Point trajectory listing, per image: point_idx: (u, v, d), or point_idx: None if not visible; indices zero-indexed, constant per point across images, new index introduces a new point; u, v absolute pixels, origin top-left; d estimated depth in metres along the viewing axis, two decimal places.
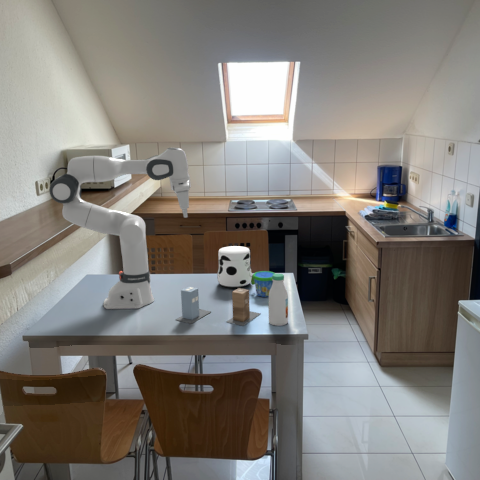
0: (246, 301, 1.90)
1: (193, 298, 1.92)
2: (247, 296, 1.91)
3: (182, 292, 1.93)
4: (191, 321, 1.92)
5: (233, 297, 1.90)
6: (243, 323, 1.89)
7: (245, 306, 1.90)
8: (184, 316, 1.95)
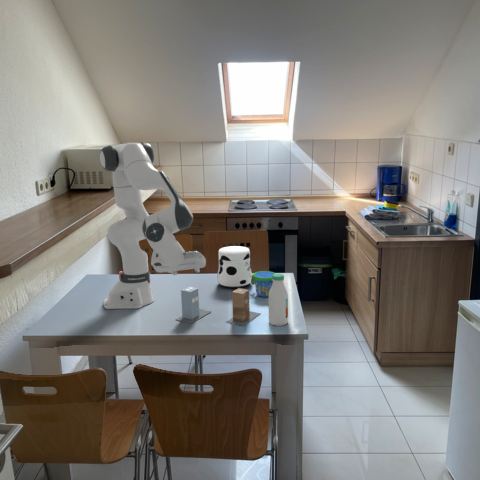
0: (246, 301, 1.90)
1: (193, 298, 1.92)
2: (247, 296, 1.91)
3: (182, 292, 1.93)
4: (191, 321, 1.92)
5: (233, 297, 1.90)
6: (243, 323, 1.89)
7: (245, 306, 1.90)
8: (184, 316, 1.95)
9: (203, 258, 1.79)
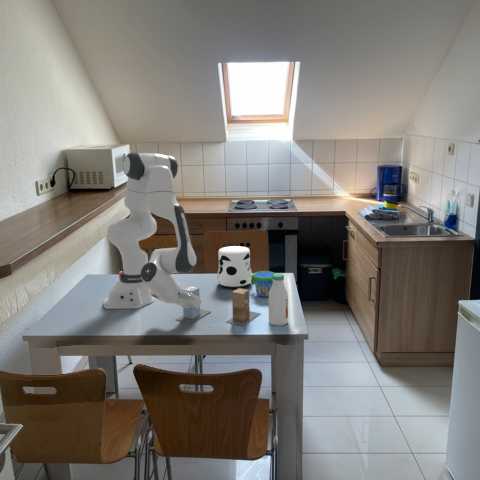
0: (246, 301, 1.90)
1: None
2: (247, 296, 1.91)
3: None
4: (191, 321, 1.92)
5: (233, 297, 1.90)
6: (243, 323, 1.89)
7: (245, 306, 1.90)
8: (185, 315, 1.96)
9: (197, 301, 1.83)
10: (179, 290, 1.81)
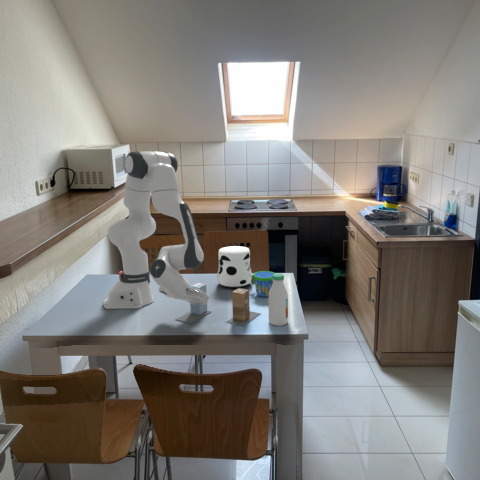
0: (246, 301, 1.90)
1: None
2: (247, 296, 1.91)
3: None
4: (191, 321, 1.92)
5: (233, 297, 1.90)
6: (243, 323, 1.89)
7: (245, 306, 1.90)
8: (193, 311, 2.00)
9: (205, 297, 1.87)
10: (187, 286, 1.85)
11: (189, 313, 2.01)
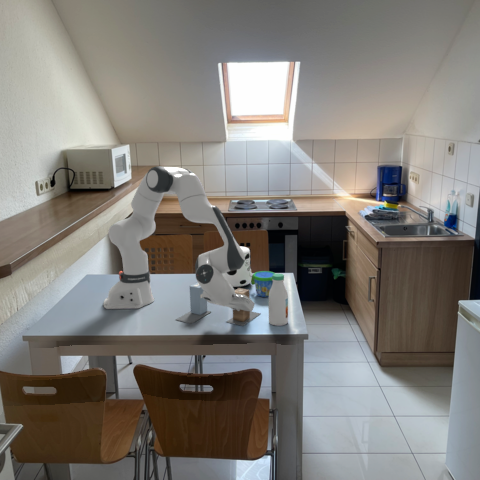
0: None
1: (201, 294, 1.97)
2: (247, 296, 1.91)
3: (191, 288, 1.98)
4: (191, 321, 1.92)
5: None
6: (243, 323, 1.89)
7: None
8: (193, 311, 2.00)
9: (251, 303, 1.79)
10: (233, 292, 1.78)
11: (189, 313, 2.01)
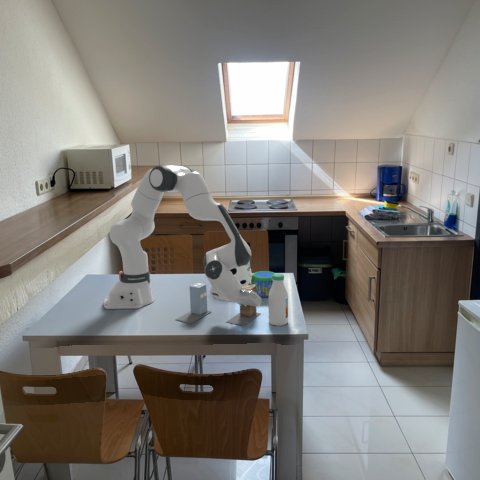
0: None
1: (201, 294, 1.97)
2: None
3: (191, 288, 1.98)
4: (191, 321, 1.92)
5: None
6: (243, 323, 1.89)
7: None
8: (193, 311, 2.00)
9: (258, 298, 1.83)
10: (240, 288, 1.82)
11: (189, 313, 2.01)
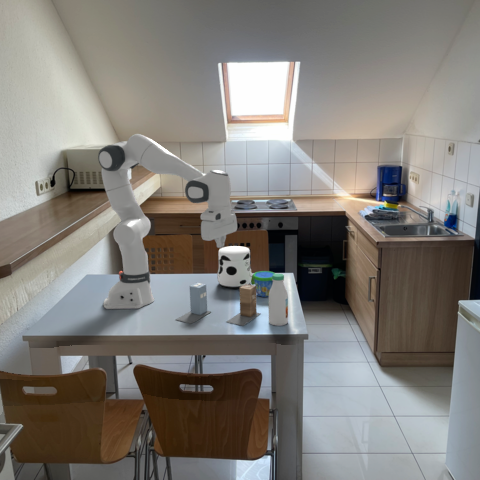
0: (253, 297, 1.95)
1: (201, 294, 1.97)
2: (254, 292, 1.95)
3: (191, 288, 1.98)
4: (191, 321, 1.92)
5: (240, 293, 1.95)
6: (243, 323, 1.89)
7: (252, 301, 1.95)
8: (193, 311, 2.00)
9: None
10: None
11: (189, 313, 2.01)
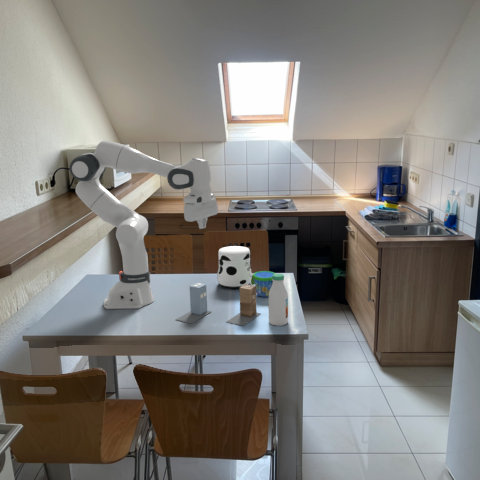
0: (253, 297, 1.95)
1: (201, 294, 1.97)
2: (254, 292, 1.95)
3: (191, 288, 1.98)
4: (191, 321, 1.92)
5: (240, 293, 1.95)
6: (243, 323, 1.89)
7: (252, 301, 1.95)
8: (193, 311, 2.00)
9: None
10: None
11: (189, 313, 2.01)
